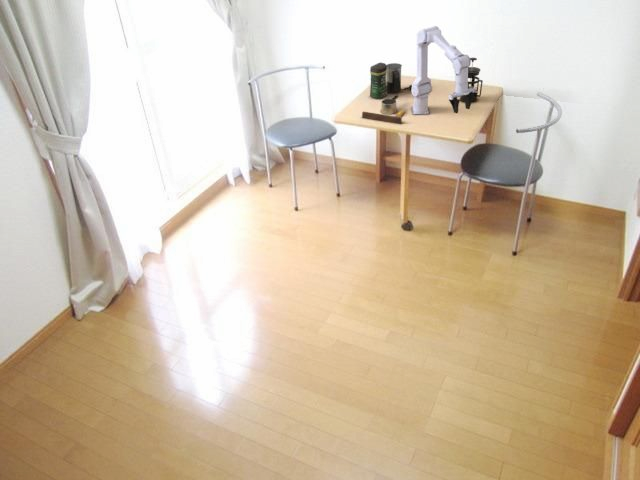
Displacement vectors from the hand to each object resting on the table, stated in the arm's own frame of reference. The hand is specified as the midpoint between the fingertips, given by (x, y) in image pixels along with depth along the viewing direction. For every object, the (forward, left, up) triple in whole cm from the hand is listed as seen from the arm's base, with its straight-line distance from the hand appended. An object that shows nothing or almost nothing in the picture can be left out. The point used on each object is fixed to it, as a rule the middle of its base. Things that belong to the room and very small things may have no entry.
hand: (461, 110), depth 250 cm
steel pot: (-30, -32, -11) cm, 46 cm away
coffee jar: (-49, -39, -11) cm, 64 cm away
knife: (-19, -29, -11) cm, 37 cm away
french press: (-38, +11, -11) cm, 41 cm away
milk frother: (-56, -26, -11) cm, 63 cm away
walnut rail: (-16, -38, -11) cm, 43 cm away
